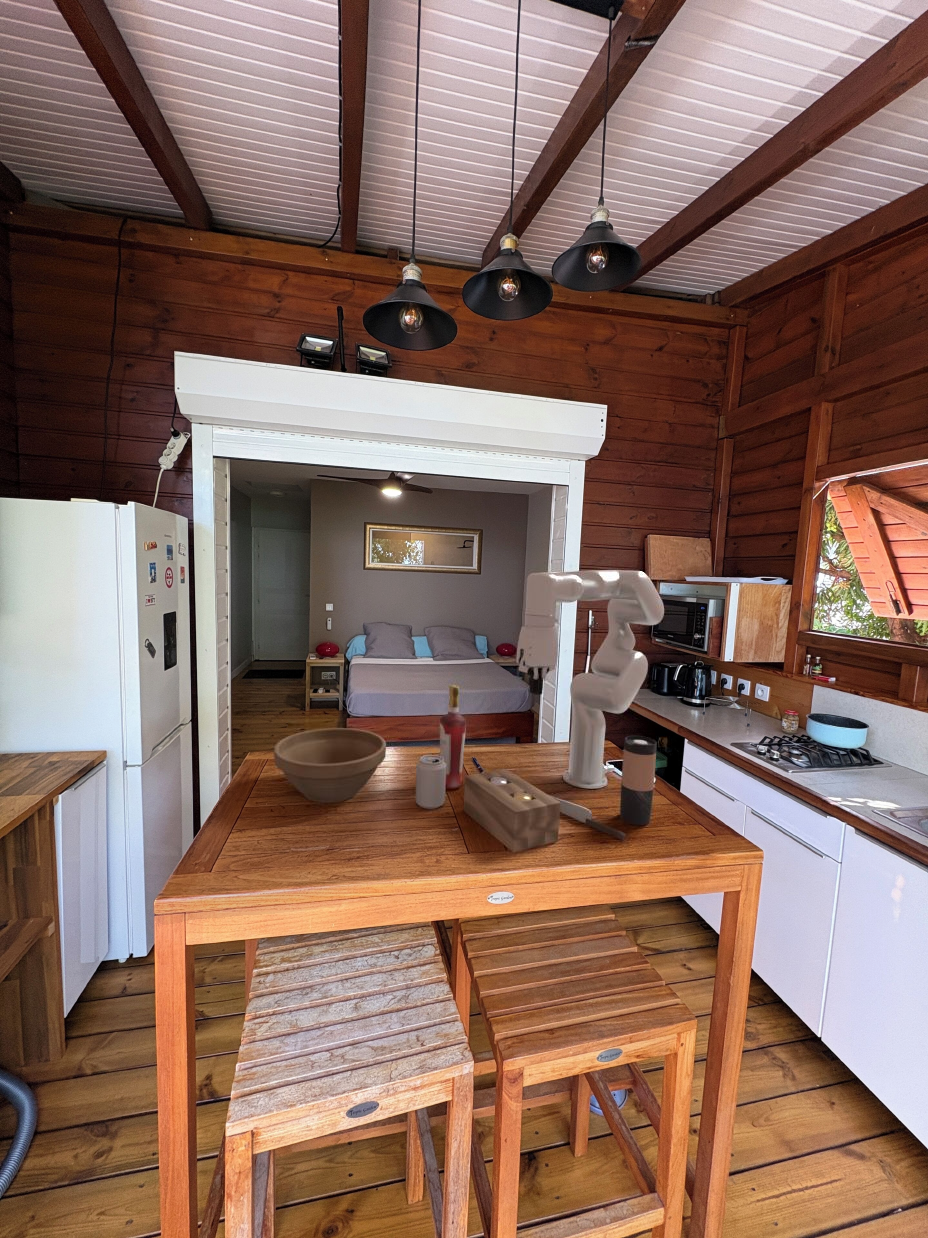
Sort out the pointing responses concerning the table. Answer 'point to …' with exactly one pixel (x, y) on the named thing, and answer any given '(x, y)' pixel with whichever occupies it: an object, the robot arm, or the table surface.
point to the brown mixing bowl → (330, 761)
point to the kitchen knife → (587, 818)
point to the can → (430, 781)
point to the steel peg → (498, 781)
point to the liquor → (453, 741)
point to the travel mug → (637, 779)
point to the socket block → (512, 810)
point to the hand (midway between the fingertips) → (535, 693)
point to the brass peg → (522, 796)
